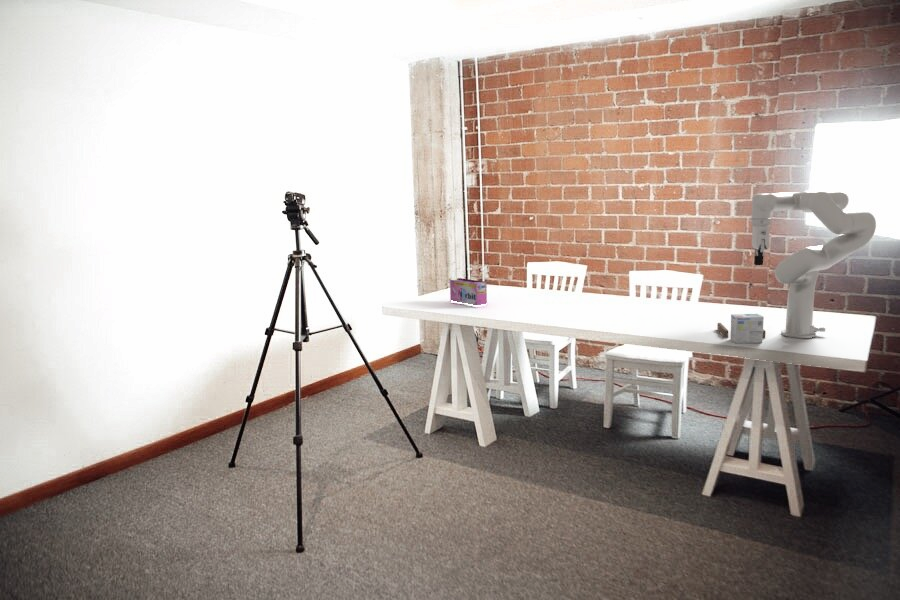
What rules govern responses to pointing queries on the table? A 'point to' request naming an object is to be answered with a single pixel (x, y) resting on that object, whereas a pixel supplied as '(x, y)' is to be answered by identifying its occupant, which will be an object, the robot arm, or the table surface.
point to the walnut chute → (725, 331)
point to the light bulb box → (746, 328)
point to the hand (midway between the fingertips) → (758, 264)
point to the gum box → (468, 291)
